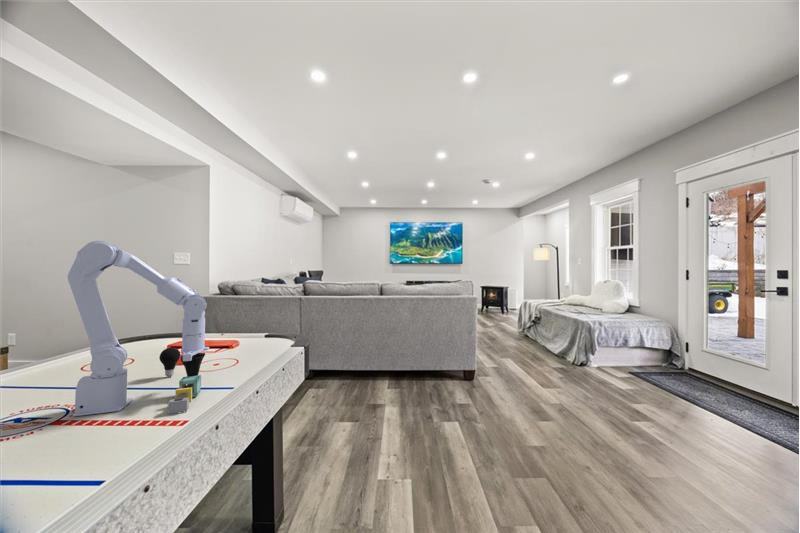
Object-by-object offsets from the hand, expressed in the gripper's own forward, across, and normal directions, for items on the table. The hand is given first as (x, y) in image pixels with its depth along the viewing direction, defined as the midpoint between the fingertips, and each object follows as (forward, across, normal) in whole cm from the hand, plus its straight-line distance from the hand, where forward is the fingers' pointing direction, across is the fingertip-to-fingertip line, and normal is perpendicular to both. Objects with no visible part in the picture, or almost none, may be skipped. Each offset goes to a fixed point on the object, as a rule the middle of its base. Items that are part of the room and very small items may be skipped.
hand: (192, 379), depth 94 cm
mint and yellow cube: (+4, -3, 0) cm, 5 cm away
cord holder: (+4, -5, 0) cm, 6 cm away
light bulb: (+4, +19, +11) cm, 22 cm away
